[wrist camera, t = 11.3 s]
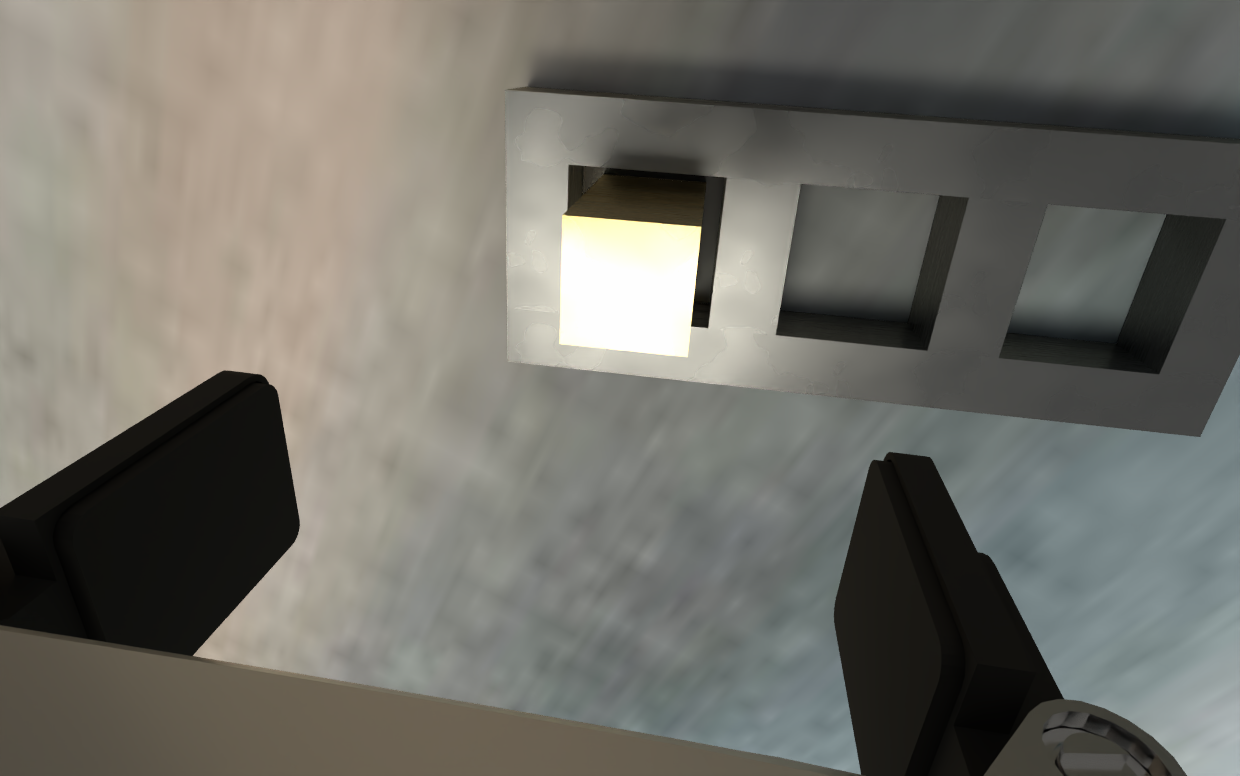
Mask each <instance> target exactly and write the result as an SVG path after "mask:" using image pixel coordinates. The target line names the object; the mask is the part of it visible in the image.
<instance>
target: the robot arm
mask: <svg viewBox="0 0 1240 776" xmlns="http://www.w3.org/2000/svg"><path fill="white" fill-rule="evenodd" d="M299 526H300V521H299V514H298V509H297V503H296V497H295V491H294V485H293V479H292V473H291V468H290V462H289V456H288V450H287V444H286V438H285V433H284V427H283V421H282V415H281V409H280V403H279V397H278V393H277V390H276V389H275V387H274V386H272V385H269V382H268V381H267V379H266V378H265V377H264V376H262V375H259V374H251V373H243V372H235V371H222V372H220V373H218V374H216V375H215V376H213V377H211V378H210V379H208V380H206V381H205V382H203V383H202V384H200V385H198V386H197V387H195V388H194V389H192V390H190V391H189V392H187V393H185V394H184V395H182V396H181V397H179V398H177V399H176V400H174V401H173V402H171V403H169V404H168V405H166V406H164V407H163V408H161V409H160V410H158V411H156V412H155V413H153V414H152V415H150V416H148V417H147V418H145V419H143V420H142V421H140V422H139V423H137V424H135V425H134V426H132V427H131V428H129V429H127V430H126V431H124V432H122V433H121V434H119V435H118V436H116V437H114V438H113V439H111V440H110V441H108V442H106V443H105V444H103V445H101V446H100V447H98V448H97V449H95V450H93V451H92V452H90V453H89V454H87V455H85V456H84V457H82V458H80V459H79V460H77V461H76V462H74V463H72V464H71V465H69V466H67V467H66V468H64V469H63V470H61V471H59V472H58V473H56V474H55V475H53V476H51V477H50V478H48V479H46V480H45V481H43V482H42V483H40V484H38V485H37V486H35V487H34V488H32V489H30V490H29V491H27V492H25V493H24V494H22V495H21V496H19V497H17V498H16V499H14V500H13V501H11V502H9V503H8V504H6V505H4V506H3V507H1V508H0V776H1187V775H1186V774H1185V772H1184V771H1183V769H1182V768H1181V767H1180V765H1179V764H1178V762H1177V761H1176V760H1175V758H1174V757H1173V756H1172V755H1171V754H1170V753H1169V752H1168V751H1167V750H1166V749H1165V748H1164V747H1163V746H1162V745H1161V744H1159V743H1158V742H1157V741H1156V740H1155V739H1154V738H1153V737H1152V736H1150V735H1149V734H1148V733H1146V732H1145V731H1143V730H1142V729H1140V728H1139V727H1137V726H1136V725H1135V724H1133V723H1132V722H1130V721H1129V720H1127V719H1125V718H1123V717H1121V716H1119V715H1117V714H1115V713H1113V712H1111V711H1109V710H1107V709H1105V708H1102V707H1098V706H1095V705H1092V704H1089V703H1085V702H1082V701H1076V700H1065V699H1064V698H1063V696H1062V694H1061V692H1060V690H1059V689H1058V687H1057V685H1056V683H1055V681H1054V679H1053V677H1052V675H1051V673H1050V671H1049V669H1048V667H1047V665H1046V663H1045V661H1044V659H1043V657H1042V655H1041V654H1040V652H1039V650H1038V648H1037V646H1036V644H1035V642H1034V640H1033V638H1032V636H1031V634H1030V632H1029V630H1028V628H1027V626H1026V624H1025V622H1024V620H1023V618H1022V617H1021V615H1020V613H1019V611H1018V609H1017V607H1016V605H1015V603H1014V601H1013V599H1012V597H1011V595H1010V593H1009V591H1008V589H1007V587H1006V585H1005V583H1004V581H1003V580H1002V578H1001V576H1000V574H999V572H998V570H997V568H996V566H995V564H994V562H993V561H992V560H991V558H990V557H989V556H988V555H986V554H984V553H978V552H977V550H976V548H975V546H974V544H973V542H972V540H971V538H970V536H969V534H968V532H967V530H966V528H965V526H964V524H963V522H962V520H961V518H960V516H959V514H958V512H957V509H956V507H955V505H954V503H953V501H952V499H951V497H950V495H949V493H948V491H947V489H946V487H945V485H944V483H943V481H942V479H941V477H940V475H939V473H938V471H937V469H936V467H935V465H934V463H933V461H932V459H931V458H930V457H926V456H918V455H910V454H901V453H893V452H889V453H888V454H887V455H886V456H885V458H884V461H879V460H873V461H872V462H871V464H870V467H869V470H868V474H867V478H866V482H865V486H864V490H863V494H862V498H861V502H860V506H859V510H858V514H857V518H856V522H855V525H854V529H853V533H852V537H851V541H850V545H849V549H848V553H847V557H846V561H845V565H844V569H843V573H842V577H841V580H840V584H839V588H838V592H837V596H836V601H835V608H834V623H835V630H836V635H837V641H838V646H839V652H840V658H841V663H842V669H843V674H844V680H845V686H846V691H847V697H848V702H849V708H850V714H851V719H852V725H853V730H854V736H855V742H856V747H857V753H858V759H859V764H860V770H861V775H859V774H855V773H850V772H845V771H841V770H836V769H831V768H826V767H822V766H817V765H812V764H808V763H803V762H798V761H794V760H789V759H784V758H780V757H774V756H768V755H762V754H756V753H750V752H745V751H739V750H733V749H728V748H723V747H718V746H712V745H707V744H702V743H696V742H691V741H686V740H680V739H674V738H668V737H663V736H657V735H651V734H646V733H640V732H634V731H629V730H623V729H617V728H611V727H606V726H600V725H594V724H589V723H583V722H577V721H572V720H566V719H560V718H554V717H549V716H543V715H537V714H532V713H526V712H520V711H515V710H509V709H503V708H497V707H492V706H486V705H480V704H474V703H468V702H462V701H457V700H451V699H445V698H439V697H433V696H427V695H421V694H416V693H410V692H404V691H398V690H392V689H386V688H380V687H374V686H369V685H363V684H357V683H351V682H345V681H339V680H333V679H327V678H321V677H315V676H309V675H303V674H297V673H291V672H285V671H279V670H273V669H267V668H262V667H255V666H249V665H243V664H237V663H231V662H225V661H219V660H213V659H206V658H200V657H194V656H193V655H194V654H195V652H196V651H197V650H198V649H199V648H200V647H201V646H202V645H203V644H204V642H205V641H206V640H207V639H208V638H209V637H210V636H211V635H212V633H213V632H214V631H215V630H216V629H217V628H218V627H219V626H220V625H221V623H222V622H223V621H224V620H225V619H226V618H227V617H228V616H229V615H230V613H231V612H232V611H233V610H234V609H235V608H236V607H237V606H238V605H239V603H240V602H241V601H242V600H243V599H244V598H245V597H246V596H247V595H248V593H249V592H250V591H251V590H252V589H253V588H254V587H255V586H256V585H257V583H258V582H259V581H260V580H261V579H262V578H263V577H264V576H265V575H266V573H267V572H268V571H269V570H270V569H271V568H272V567H273V566H274V565H275V563H276V562H277V561H278V560H279V559H280V558H281V557H282V556H283V555H284V553H285V552H286V551H287V550H288V549H289V548H290V547H291V546H292V544H293V543H294V542H295V540H296V538H297V535H298V532H299Z"/></svg>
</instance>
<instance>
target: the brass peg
mask: <svg viewBox="0 0 1240 776" xmlns="http://www.w3.org/2000/svg"><path fill="white" fill-rule="evenodd" d="M705 190H706V182H696V181H684V180H671V179H659V178H646V177H634V176H621V175H609V174H604V175H603V176H602V177H601V178H599V179H598V180H597V181H596V182H595V183H594V184H593V185H592V186H591V187H590V188H589V189H588V190H587V191H586V192H585V193H584V194H583V195H582V196H581V197H580V198H579V199H578V200H577V201H576V202H575V203H574V204H573V205H572V206H571V207H570V208H569V209H568V210H567V211H566V212H565V213H564V214H563V217H562V263H561V310H560V344H566V345H576V346H586V347H596V348H605V349H615V350H625V351H635V352H644V353H654V354H664V355H674V356H683V357H687V356H688V347H689V338H690V329H691V320H692V311H693V302H694V293H695V284H696V274H697V265H698V256H699V246H700V237H701V228H702V218H703V209H704V200H705Z"/></svg>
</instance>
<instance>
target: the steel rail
mask: <svg viewBox="0 0 1240 776" xmlns="http://www.w3.org/2000/svg"><path fill="white" fill-rule="evenodd" d="M505 140H506V253H507V361H509V362H518V363H528V364H537V365H546V366H555V367H564V368H573V369H582V370H592V371H601V372H610V373H619V374H628V375H637V376H647V377H656V378H665V379H674V380H683V381H692V382H702V383H711V384H720V385H729V386H738V387H747V388H756V389H766V390H775V391H784V392H793V393H802V394H811V395H821V396H830V397H839V398H848V399H857V400H866V401H876V402H885V403H894V404H903V405H912V406H921V407H930V408H940V409H949V410H958V411H967V412H976V413H985V414H995V415H1004V416H1013V417H1022V418H1031V419H1040V420H1050V421H1059V422H1068V423H1077V424H1086V425H1095V426H1104V427H1114V428H1123V429H1132V430H1141V431H1150V432H1159V433H1169V434H1178V435H1187V436H1196V437H1200V436H1201V434H1202V432H1203V430H1204V428H1205V426H1206V424H1207V421H1208V419H1209V417H1210V415H1211V413H1212V411H1213V409H1214V407H1215V405H1216V403H1217V401H1218V399H1219V397H1220V394H1221V392H1222V390H1223V388H1224V386H1225V384H1226V382H1227V380H1228V378H1229V376H1230V374H1231V372H1232V369H1233V367H1234V365H1235V363H1236V361H1237V359H1238V357H1239V355H1240V139H1233V138H1220V137H1206V136H1192V135H1179V134H1165V133H1151V132H1138V131H1124V130H1111V129H1097V128H1083V127H1070V126H1056V125H1042V124H1029V123H1015V122H1001V121H988V120H974V119H961V118H947V117H933V116H920V115H906V114H892V113H879V112H865V111H851V110H838V109H824V108H811V107H797V106H783V105H770V104H756V103H742V102H729V101H715V100H701V99H688V98H674V97H660V96H647V95H633V94H620V93H606V92H592V91H579V90H565V89H551V88H538V87H521V88H515V89H508V90H505ZM583 166H593V167H605V168H617V169H629V170H641V171H653V172H666V173H678V174H690V175H702V176H714V177H725V179H724V187H723V196H722V204H721V212H720V220H719V228H718V237H717V245H716V253H715V261H714V269H713V278H712V286H711V294H710V302H709V303H701V302H693V311H692V320H691V329H690V338H689V347H688V356H687V357H683V356H674V355H664V354H654V353H644V352H635V351H625V350H615V349H605V348H596V347H586V346H576V345H566V344H560V310H561V263H562V217H563V214H564V213H565V212H566V211H567V210H568V209H569V208H570V207H571V206H572V205H573V204H574V203H575V202H576V201H577V200H578V199H579V198H580V197H581V196H582V183H583ZM801 184H810V185H822V186H834V187H846V188H858V189H870V190H883V191H895V192H907V193H919V194H931V195H940V198H939V202H938V205H937V209H936V213H935V217H934V221H933V225H932V229H931V233H930V237H929V241H928V245H927V249H926V253H925V257H924V261H923V265H922V269H921V273H920V276H919V280H918V284H917V288H916V292H915V296H914V300H913V304H912V308H911V312H910V316H909V320H908V323H903V322H892V321H882V320H872V319H862V318H852V317H842V316H832V315H822V314H812V313H802V312H791V311H781V310H780V306H781V300H782V294H783V288H784V282H785V276H786V270H787V264H788V258H789V252H790V246H791V240H792V234H793V229H794V223H795V217H796V211H797V205H798V199H799V193H800V187H801ZM1048 204H1051V205H1063V206H1075V207H1087V208H1100V209H1112V210H1124V211H1136V212H1148V213H1160V214H1167V217H1166V219H1165V222H1164V224H1163V227H1162V229H1161V232H1160V234H1159V237H1158V239H1157V242H1156V244H1155V247H1154V250H1153V252H1152V255H1151V257H1150V260H1149V262H1148V265H1147V267H1146V270H1145V272H1144V275H1143V277H1142V280H1141V282H1140V285H1139V287H1138V290H1137V293H1136V295H1135V298H1134V300H1133V303H1132V305H1131V308H1130V310H1129V313H1128V315H1127V318H1126V320H1125V323H1124V325H1123V328H1122V330H1121V333H1120V335H1119V338H1118V341H1117V343H1116V344H1115V343H1104V342H1094V341H1084V340H1074V339H1064V338H1054V337H1044V336H1034V335H1024V334H1014V333H1007V330H1008V327H1009V324H1010V321H1011V318H1012V314H1013V311H1014V308H1015V305H1016V302H1017V299H1018V296H1019V293H1020V289H1021V286H1022V283H1023V280H1024V277H1025V274H1026V271H1027V268H1028V265H1029V261H1030V258H1031V255H1032V252H1033V249H1034V246H1035V243H1036V240H1037V236H1038V233H1039V230H1040V227H1041V224H1042V221H1043V218H1044V215H1045V211H1046V208H1047V205H1048Z"/></svg>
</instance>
